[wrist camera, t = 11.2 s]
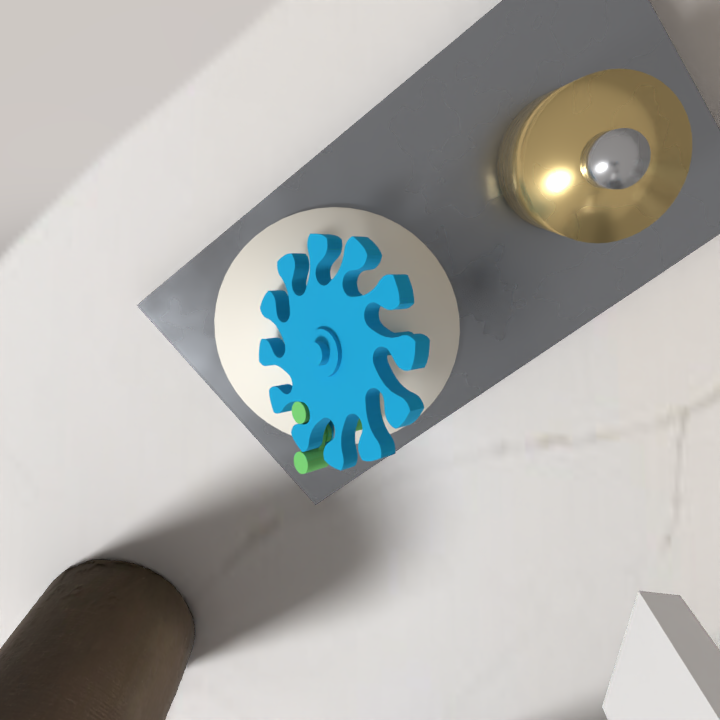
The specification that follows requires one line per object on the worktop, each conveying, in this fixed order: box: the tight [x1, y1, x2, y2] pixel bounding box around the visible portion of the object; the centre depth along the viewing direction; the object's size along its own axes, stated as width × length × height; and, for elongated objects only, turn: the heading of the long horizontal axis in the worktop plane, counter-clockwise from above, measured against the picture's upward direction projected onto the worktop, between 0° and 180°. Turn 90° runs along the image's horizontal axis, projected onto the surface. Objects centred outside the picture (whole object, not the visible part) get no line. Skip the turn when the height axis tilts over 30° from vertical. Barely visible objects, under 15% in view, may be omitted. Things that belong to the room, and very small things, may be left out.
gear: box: [259, 234, 430, 474], centre depth 26 cm, size 11×6×10 cm
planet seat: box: [214, 207, 460, 444], centre depth 28 cm, size 12×12×1 cm
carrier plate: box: [137, 0, 720, 505], centre depth 25 cm, size 26×14×7 cm, turn 128°
